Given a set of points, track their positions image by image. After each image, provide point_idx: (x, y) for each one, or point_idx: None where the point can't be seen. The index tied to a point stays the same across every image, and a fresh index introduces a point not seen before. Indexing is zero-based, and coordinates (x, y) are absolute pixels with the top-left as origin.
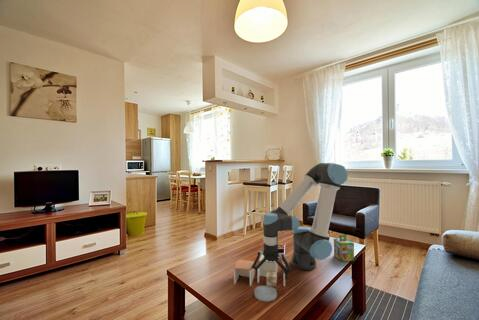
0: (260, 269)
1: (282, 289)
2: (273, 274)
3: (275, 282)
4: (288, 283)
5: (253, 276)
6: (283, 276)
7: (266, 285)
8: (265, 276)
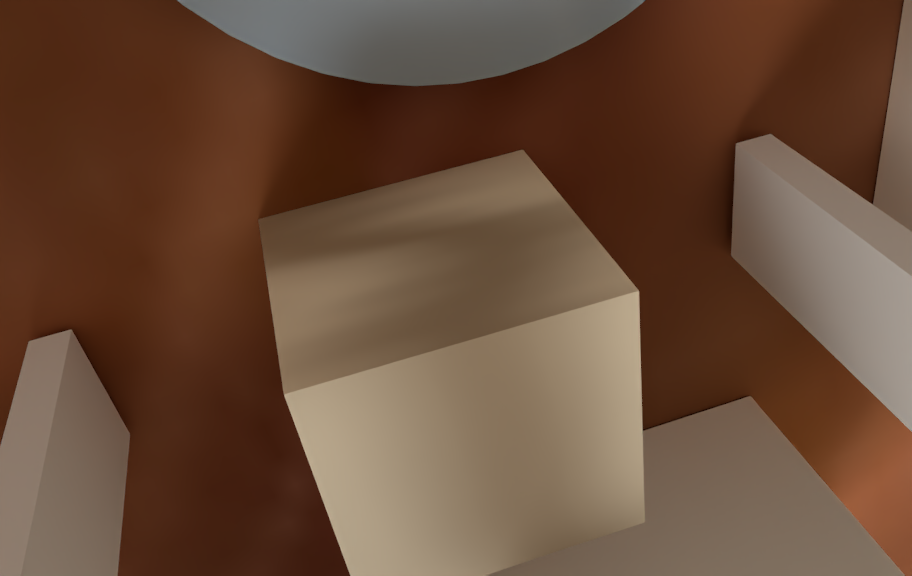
0: (819, 514)
1: (28, 188)
2: (428, 482)
3: (286, 277)
4: None
5: None
6: (22, 553)
7: (518, 68)
8: None
